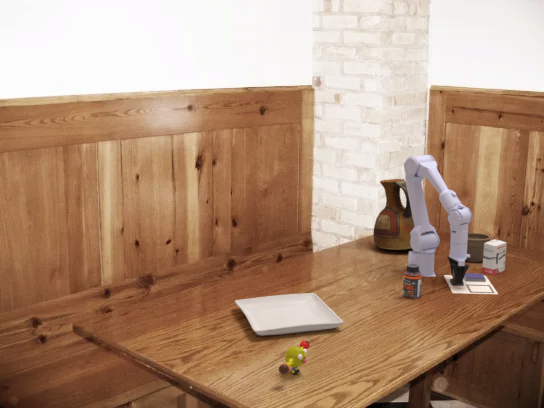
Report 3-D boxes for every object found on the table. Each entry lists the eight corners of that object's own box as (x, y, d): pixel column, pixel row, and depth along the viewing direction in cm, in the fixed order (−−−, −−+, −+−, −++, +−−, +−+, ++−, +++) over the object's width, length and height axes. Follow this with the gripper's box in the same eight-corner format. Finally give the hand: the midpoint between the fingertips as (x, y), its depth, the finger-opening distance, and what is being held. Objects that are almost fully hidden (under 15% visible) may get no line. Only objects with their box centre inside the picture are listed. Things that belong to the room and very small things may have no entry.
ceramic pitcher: (393, 240, 300) (395, 173, 294) (430, 249, 285) (433, 179, 279) (363, 248, 287) (364, 178, 281) (400, 258, 272) (402, 184, 266)
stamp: (451, 285, 237) (452, 271, 236) (450, 281, 241) (450, 267, 239) (463, 285, 236) (464, 271, 235) (461, 282, 240) (462, 268, 239)
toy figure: (293, 389, 163) (293, 363, 162) (272, 385, 165) (272, 359, 164) (317, 359, 180) (317, 335, 178) (297, 356, 182) (297, 332, 180)
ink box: (493, 276, 248) (495, 245, 246) (481, 274, 251) (483, 243, 249) (505, 271, 254) (507, 241, 251) (493, 269, 257) (494, 238, 255)
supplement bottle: (400, 299, 225) (401, 266, 223) (405, 293, 230) (406, 261, 228) (417, 301, 223) (419, 268, 220) (422, 296, 228) (424, 263, 225)
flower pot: (453, 257, 272) (454, 233, 270) (478, 255, 276) (479, 231, 274) (469, 265, 261) (471, 240, 259) (495, 263, 265) (496, 238, 263)
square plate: (254, 343, 192) (254, 330, 191) (234, 310, 217) (233, 298, 217) (344, 332, 199) (344, 320, 198) (314, 301, 224) (314, 290, 224)
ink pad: (465, 281, 241) (465, 277, 241) (462, 276, 247) (462, 272, 247) (485, 281, 240) (485, 278, 240) (482, 276, 246) (482, 273, 246)
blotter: (452, 294, 229) (452, 292, 229) (443, 276, 249) (443, 274, 248) (498, 295, 228) (498, 293, 227) (485, 277, 247) (485, 275, 247)
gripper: (474, 248, 228) (472, 286, 231) (466, 237, 242) (464, 274, 245) (453, 247, 229) (451, 286, 231) (446, 237, 243) (444, 273, 245)
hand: (456, 280), depth 238 cm, fingers open, 7 cm apart
